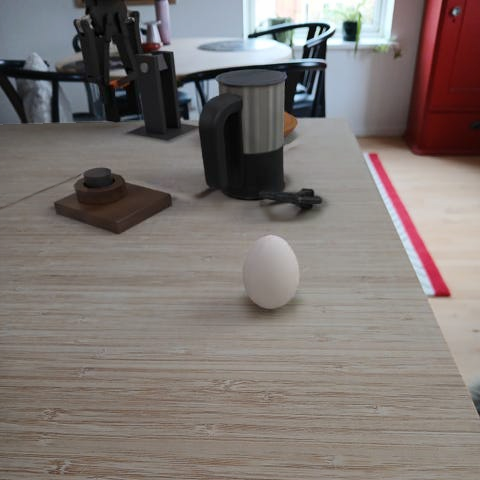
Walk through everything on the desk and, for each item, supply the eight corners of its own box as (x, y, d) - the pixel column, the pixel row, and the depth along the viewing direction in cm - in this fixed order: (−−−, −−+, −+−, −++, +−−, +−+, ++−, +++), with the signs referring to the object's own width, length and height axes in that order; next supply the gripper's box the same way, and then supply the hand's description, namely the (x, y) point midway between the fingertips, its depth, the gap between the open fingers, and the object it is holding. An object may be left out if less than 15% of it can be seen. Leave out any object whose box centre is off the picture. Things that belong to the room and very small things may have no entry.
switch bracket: (128, 138, 95) (114, 55, 86) (160, 125, 100) (150, 47, 92) (168, 147, 90) (158, 59, 82) (200, 133, 96) (193, 50, 87)
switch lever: (108, 94, 95) (102, 81, 94) (127, 88, 98) (122, 75, 97) (153, 72, 86) (147, 57, 85) (173, 66, 89) (167, 52, 88)
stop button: (80, 186, 68) (77, 174, 67) (100, 178, 70) (98, 165, 69) (99, 192, 66) (96, 179, 65) (119, 182, 69) (116, 170, 68)
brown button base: (56, 213, 69) (49, 189, 67) (110, 188, 75) (106, 165, 73) (119, 234, 63) (113, 208, 61) (172, 205, 70) (169, 180, 68)
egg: (309, 307, 49) (313, 238, 45) (266, 328, 47) (265, 258, 42) (275, 284, 53) (275, 218, 48) (233, 302, 50) (229, 235, 46)
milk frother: (235, 173, 78) (230, 66, 70) (338, 183, 74) (346, 70, 65) (196, 211, 68) (184, 91, 59) (313, 226, 63) (319, 98, 54)
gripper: (71, -25, 77) (103, 132, 91) (153, -33, 89) (170, 108, 103) (40, -25, 81) (75, 127, 95) (123, -32, 92) (143, 104, 106)
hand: (124, 117), depth 99 cm, fingers open, 5 cm apart
